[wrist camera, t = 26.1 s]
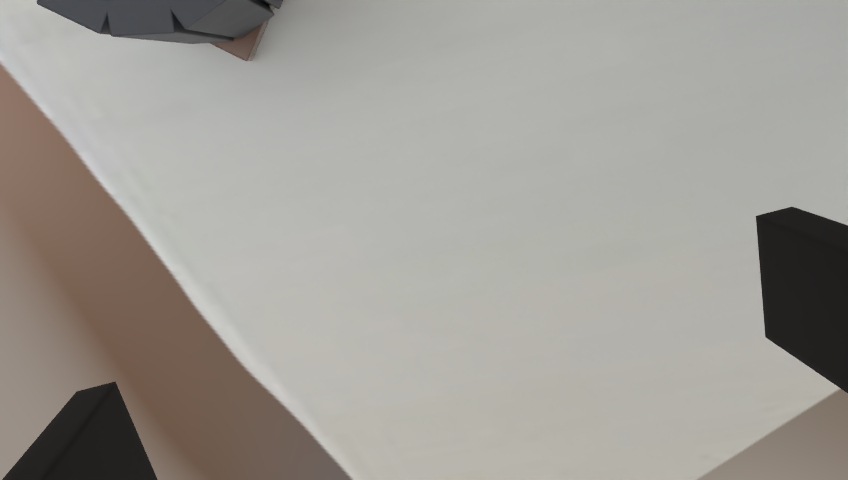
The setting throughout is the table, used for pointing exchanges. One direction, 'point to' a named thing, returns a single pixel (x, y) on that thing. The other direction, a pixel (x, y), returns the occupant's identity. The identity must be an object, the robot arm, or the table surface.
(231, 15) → the ribbed pencil cup
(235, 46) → the peg
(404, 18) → the table surface
